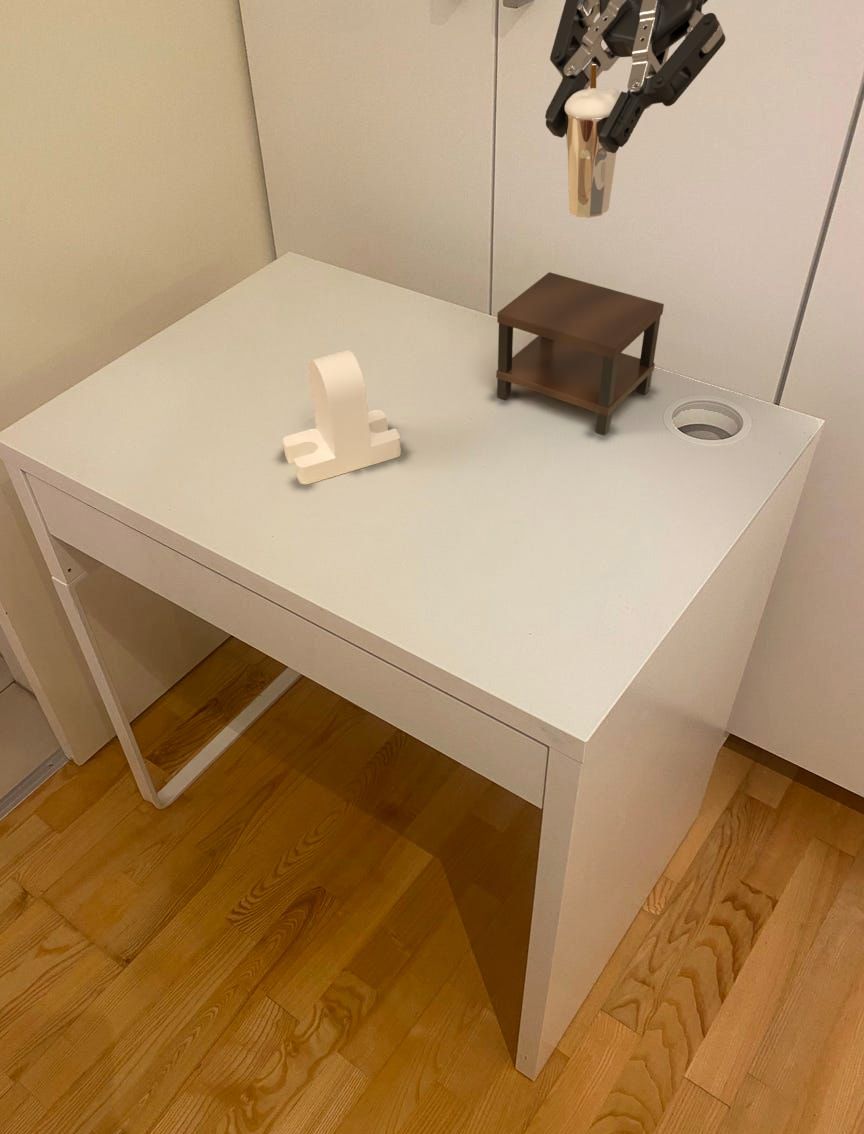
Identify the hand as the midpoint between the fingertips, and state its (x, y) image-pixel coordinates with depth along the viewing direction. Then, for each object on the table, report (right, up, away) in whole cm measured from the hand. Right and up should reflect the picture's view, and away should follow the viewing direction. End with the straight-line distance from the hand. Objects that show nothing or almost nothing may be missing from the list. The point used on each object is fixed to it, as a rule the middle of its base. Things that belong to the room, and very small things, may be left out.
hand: (579, 138), depth 77 cm
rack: (+3, -15, +19) cm, 25 cm away
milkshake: (+2, -3, +5) cm, 7 cm away
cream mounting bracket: (-19, -22, +15) cm, 33 cm away
